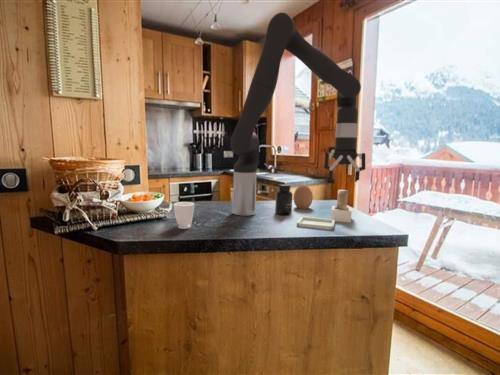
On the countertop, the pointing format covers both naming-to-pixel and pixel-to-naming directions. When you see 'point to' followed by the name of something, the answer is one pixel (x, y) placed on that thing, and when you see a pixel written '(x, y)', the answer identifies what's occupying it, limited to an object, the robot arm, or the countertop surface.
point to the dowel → (342, 199)
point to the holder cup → (341, 214)
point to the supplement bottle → (283, 200)
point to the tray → (316, 223)
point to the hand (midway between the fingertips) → (343, 181)
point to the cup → (184, 214)
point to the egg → (303, 197)
